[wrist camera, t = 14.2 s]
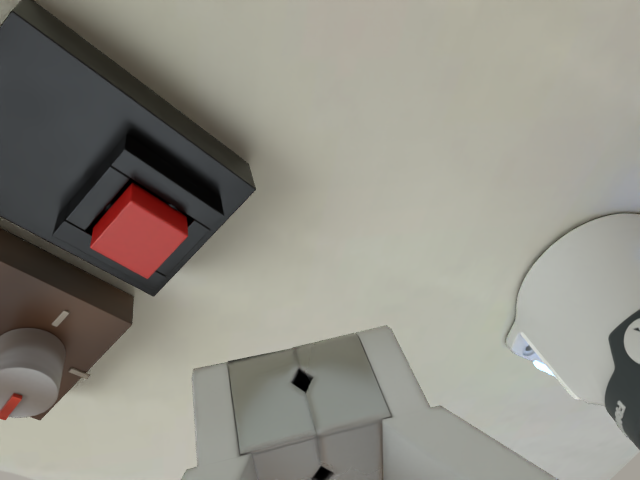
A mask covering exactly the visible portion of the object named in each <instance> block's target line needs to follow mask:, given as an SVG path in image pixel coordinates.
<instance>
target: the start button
mask: <svg viewBox="0 0 640 480" xmlns="http://www.w3.org/2000/svg"><path fill="white" fill-rule="evenodd" d="M187 237H188V226H187V217H186V216H185V215H183V214H182V213H180V212H179V211H177V210H175V209H174V208H172V207H171V206H169V205H168V204H166V203H164V202H163V201H161V200H160V199H158V198H157V197H155V196H154V195H152V194H150V193H149V192H147V191H146V190H144V189H143V188H141V187H139V186H138V185H136V184H135V183H131V184H130V186H129V187H128V188H127V189H126V190H125V191H124V192H123V194H122V195H121V196H120V197H119V198H118V199H117V201H116V202H115V203H114V204H113V205H112V206H111V207H110V209H109V210H108V211H107V212H106V213H105V214H104V216H103V217H102V218H101V219H100V220H99V221H98V222H97V224H96V225H95V226H94V227H93V233H92V238H91V244H90V248H91V249H93V250H95V251H97V252H98V253H100V254H102V255H104V256H106V257H108V258H110V259H111V260H113V261H115V262H117V263H119V264H121V265H122V266H124V267H126V268H128V269H130V270H132V271H134V272H135V273H137V274H139V275H141V276H143V277H145V278H146V279H148V278H149V277H150V276H151V275H152V274H153V273H154V272H155V271H156V270H157V269H158V268H159V267H160V266H161V265H162V263H163V262H164V261H165V260H166V259H167V258H168V257H169V256H170V255H171V254H172V253H173V252H174V251H175V250H176V249H177V247H178V246H179V245H180V244H181V243H182V242H183V241H184V240H185V239H186V238H187Z"/></svg>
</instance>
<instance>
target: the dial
mask: <svg viewBox="0 0 640 480" xmlns="http://www.w3.org/2000/svg"><path fill="white" fill-rule="evenodd" d="M65 356H66V351H65V347H64V345H63V343H62V342H61V341H60V340H59V339H58V338H57V337H56V336H55V335H53V334H51V333H49V332H47V331H44V330H41V329H35V328H19V329H14V330H11V331H8V332H6V333H4V334H3V335H1V336H0V419H3V420H6V419H7V418H8V417H15V418H22V417H30V416H34V415H38V414H40V413H43V412H45V411H46V410H48V409H49V408H50V407H52V406H53V404H54V403H55V402H56V400H57V398H58V394H59V388H60V383H61V378H62V372H63V367H64V362H65Z"/></svg>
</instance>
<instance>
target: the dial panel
mask: <svg viewBox="0 0 640 480" xmlns="http://www.w3.org/2000/svg"><path fill="white" fill-rule="evenodd" d="M133 301H134V297H133V296H132V295H130V294H128V293H126V292H124V291H122V290H120V289H118V288H116V287H114V286H112V285H110V284H108V283H106V282H104V281H102V280H100V279H98V278H97V277H95V276H93V275H91V274H89V273H87V272H85V271H83V270H81V269H79V268H77V267H75V266H73V265H71V264H69V263H67V262H65V261H63V260H62V259H60V258H58V257H56V256H54V255H52V254H50V253H48V252H46V251H44V250H42V249H40V248H38V247H36V246H34V245H32V244H30V243H28V242H26V241H25V240H23V239H21V238H19V237H17V236H15V235H13V234H11V233H9V232H7V231H5V230H3V229H1V228H0V336H1V335H3V334H4V333H6V332H8V331H11V330H14V329H19V328H35V329H41V330H44V331H47V332H49V333H51V334H53V335H55V336H56V337H57V338H58V339H59V340H60V341H61V342H62V343H63V345H64V347H65V351H66V356H65V362H64V367H63V372H62V378H61V383H60V388H59V394H58V398H57V400H56V402H55V403H54V404H53V406H52V407H50V408H49V409H48V410H46V411H45V412H43V413H40V414H38V415H34V416H30V417H32V418H35V419H37V420H41V419H42V418H43V417H44V416H45V415H46V414H47V413H48V412H49V411H50V410H51V409H52V408H53V407H54V405H55V404H56V403H57V402H58V401H59V400H60V399H61V398H62V397H63V396H64V395H65V394H66V393H67V392H68V391H69V390H70V389H71V388H72V387H73V386H74V385H75V384H76V383H77V381H78V380H79V379H80V378H81V377H83V378H85V379H88V377H89V376H90V374H87V373H86V372H87V371H88V370H89V369H90V368H91V367H92V366H93V365H94V364H95V363H96V362H97V361H98V360H99V359H100V358H101V356H102V355H103V354H104V353H105V352H106V351H107V350H108V349H109V348H110V347H111V346H112V345H113V344H114V343H115V342H116V341H117V340H118V339H119V338H120V337H121V336H122V335H123V334H124V332H125V331H126V330H127V329H128V328H129V327H130V326H131V325H132V319H133Z"/></svg>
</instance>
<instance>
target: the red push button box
mask: <svg viewBox="0 0 640 480" xmlns="http://www.w3.org/2000/svg"><path fill="white" fill-rule="evenodd" d="M131 183H135V184H136V185H138V186H139V187H141V188H143V189H144V190H146V191H147V192H149V193H150V194H152V195H154V196H155V197H157V198H158V199H160V200H161V201H163V202H164V203H166V204H168V205H169V206H171V207H172V208H174V209H175V210H177V211H179V212H180V213H182V214H183V215H185V216H186V217H187V226H188V237H187V238H186V239H185V240H184V241H183V242H182V243H181V244H180V245H179V246H178V247H177V249H176V250H175V251H174V252H173V253H172V254H171V255H170V256H169V257H168V258H167V259H166V260H165V261H164V262H163V263H162V265H161V266H160V267H159V268H158V269H157V270H156V271H155V272H154V273H153V274H152V275H151V276H150V277H149V278H148V279H146V278H145V277H143V276H141V275H139V274H137V273H135V272H134V271H132V270H130V269H128V268H126V267H124V266H122V265H121V264H119V263H117V262H115V261H113V260H111V259H110V258H108V257H106V256H104V255H102V254H100V253H98V252H97V251H95V250H93V249H91V248H90V244H91V238H92V233H93V227H94V226H95V225H96V224H97V222H98V221H99V220H100V219H101V218H102V217H103V216H104V214H105V213H106V212H107V211H108V210H109V209H110V207H111V206H112V205H113V204H114V203H115V202H116V201H117V199H118V198H119V197H120V196H121V195H122V194H123V192H124V191H125V190H126V189H127V188H128V187H129V186H130V184H131ZM255 190H256V187H255V184H254V180H253V177H252V173H251V170H250V167H249V164H248V163H247V162H246V161H244V160H243V159H242V158H240V157H239V156H238V155H236V154H235V153H234V152H233V151H231V150H230V149H229V148H227V147H226V146H225V145H223V144H222V143H221V142H219V141H218V140H217V139H215V138H214V137H213V136H211V135H210V134H209V133H207V132H206V131H205V130H203V129H202V128H201V127H200V126H198V125H197V124H196V123H194V122H193V121H192V120H190V119H189V118H188V117H186V116H185V115H184V114H182V113H181V112H180V111H178V110H177V109H176V108H174V107H173V106H172V105H170V104H169V103H168V102H167V101H165V100H164V99H163V98H161V97H160V96H159V95H157V94H156V93H155V92H153V91H152V90H151V89H149V88H148V87H147V86H145V85H144V84H143V83H141V82H140V81H139V80H138V79H136V78H135V77H134V76H132V75H131V74H130V73H128V72H127V71H126V70H124V69H123V68H122V67H120V66H119V65H118V64H116V63H115V62H114V61H112V60H111V59H110V58H108V57H107V56H106V55H105V54H103V53H102V52H101V51H99V50H98V49H97V48H95V47H94V46H93V45H91V44H90V43H89V42H87V41H86V40H85V39H83V38H82V37H81V36H79V35H78V34H77V33H75V32H74V31H73V30H72V29H70V28H69V27H68V26H66V25H65V24H64V23H62V22H61V21H60V20H58V19H57V18H56V17H54V16H53V15H52V14H50V13H49V12H48V11H46V10H45V9H44V8H43V7H41V6H40V5H39V4H37V3H36V2H35V1H33V0H21V1H20V2H19V3H18V5H17V6H16V7H15V8H14V9H13V10H12V11H11V12H10V14H9V15H8V17H7V18H6V19H5V21H4V22H3V24H2V25H1V26H0V216H1V217H3V218H5V219H7V220H9V221H11V222H12V223H14V224H16V225H18V226H20V227H22V228H24V229H26V230H28V231H30V232H32V233H33V234H35V235H37V236H39V237H41V238H43V239H45V240H47V241H49V242H51V243H52V244H54V245H56V246H58V247H60V248H62V249H64V250H66V251H68V252H70V253H71V254H73V255H75V256H77V257H79V258H81V259H83V260H85V261H87V262H89V263H91V264H92V265H94V266H96V267H98V268H100V269H102V270H104V271H106V272H108V273H110V274H111V275H113V276H115V277H117V278H119V279H121V280H123V281H125V282H127V283H129V284H131V285H132V286H134V287H136V288H138V289H140V290H142V291H144V292H146V293H148V294H150V295H151V296H155V295H156V294H157V293H158V292H159V291H160V290H161V289H162V287H163V286H164V285H165V284H166V283H167V282H168V281H169V280H170V279H171V278H172V277H173V276H174V275H175V274H176V273H177V272H178V271H179V270H180V269H181V268H182V267H183V265H184V264H185V263H186V262H187V261H188V260H189V259H190V258H191V257H192V256H193V255H194V254H195V253H196V252H197V251H198V250H199V249H200V248H201V247H202V246H203V245H204V243H205V242H206V241H207V240H208V239H209V238H210V237H211V236H212V235H213V234H214V233H215V232H216V231H217V230H218V229H219V228H220V227H221V226H222V225H223V224H224V223H225V222H226V220H227V219H228V218H229V217H230V216H231V215H232V214H233V213H234V212H235V211H236V210H237V209H238V208H239V207H240V206H241V205H242V204H243V203H244V202H245V201H246V200H247V198H248V197H249V196H250V195H251V194H252V193H253V192H254V191H255Z"/></svg>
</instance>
